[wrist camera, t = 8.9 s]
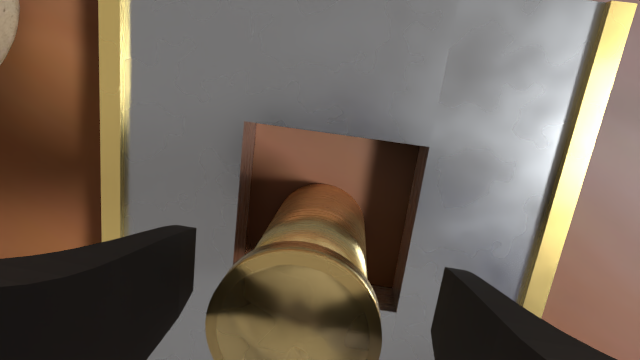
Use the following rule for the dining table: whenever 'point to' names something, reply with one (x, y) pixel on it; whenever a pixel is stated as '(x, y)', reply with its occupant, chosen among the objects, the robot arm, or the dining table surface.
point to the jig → (360, 129)
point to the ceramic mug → (8, 25)
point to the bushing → (300, 287)
